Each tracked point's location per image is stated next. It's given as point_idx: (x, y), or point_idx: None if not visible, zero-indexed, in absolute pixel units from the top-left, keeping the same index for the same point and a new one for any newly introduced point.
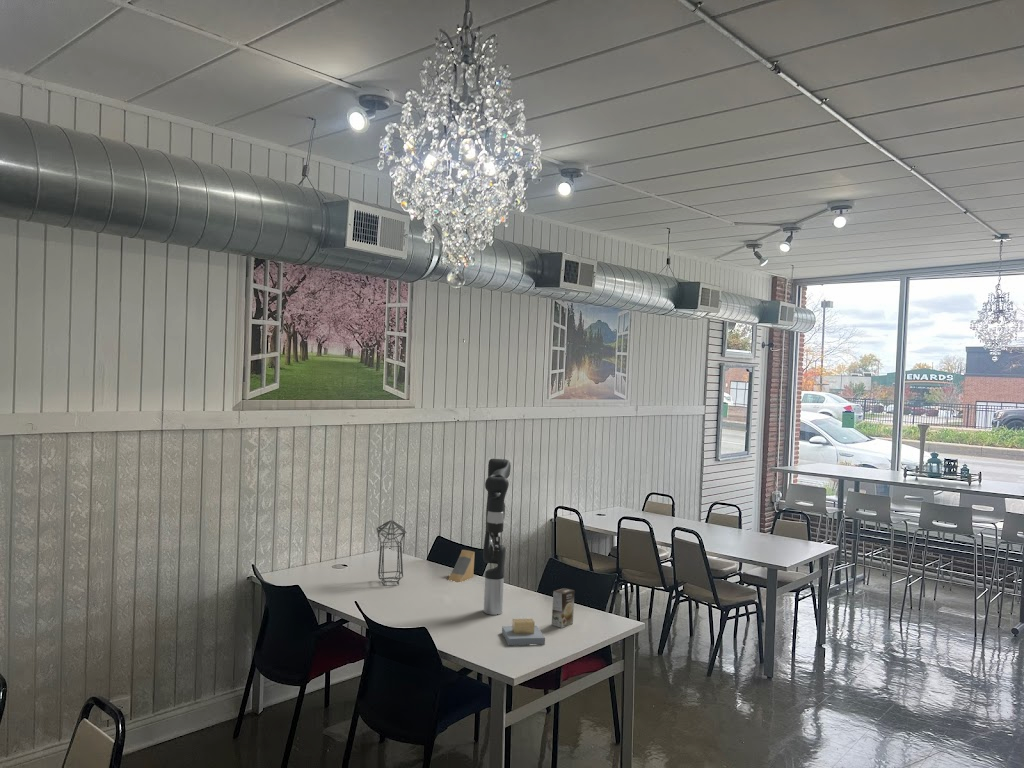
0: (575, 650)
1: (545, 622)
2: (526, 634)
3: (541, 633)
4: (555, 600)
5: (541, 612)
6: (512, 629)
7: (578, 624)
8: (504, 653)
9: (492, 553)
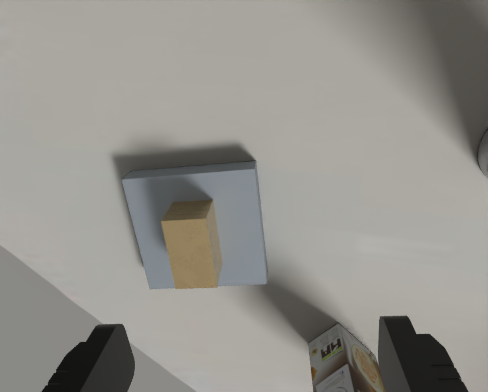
0: None
1: (365, 310)
2: None
3: None
4: None
5: (476, 316)
6: (205, 202)
7: None
8: (57, 150)
9: (382, 354)
